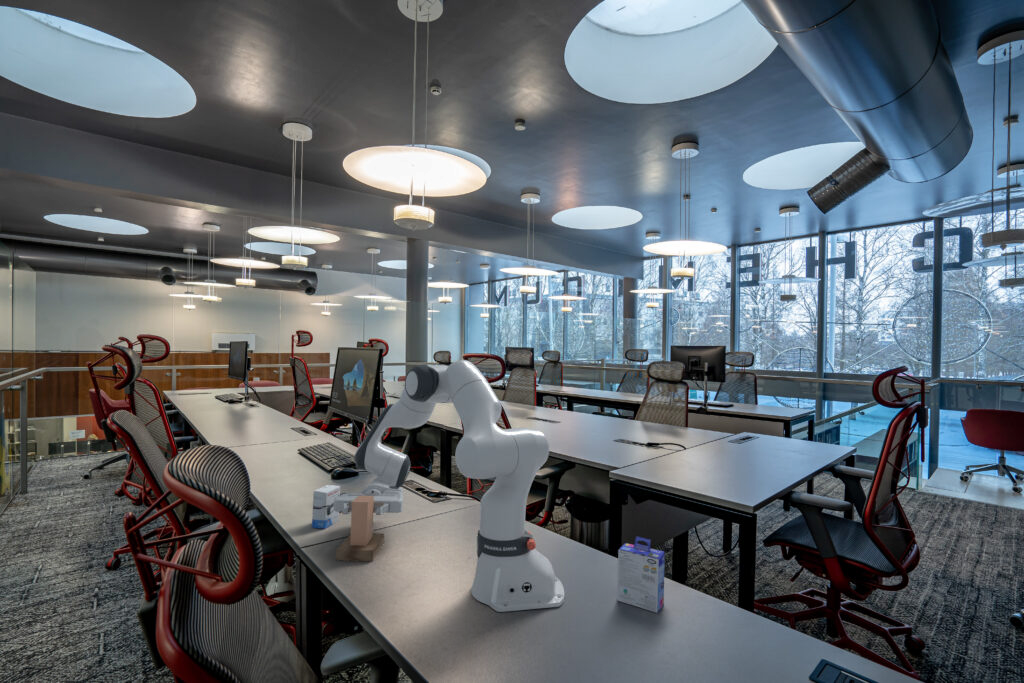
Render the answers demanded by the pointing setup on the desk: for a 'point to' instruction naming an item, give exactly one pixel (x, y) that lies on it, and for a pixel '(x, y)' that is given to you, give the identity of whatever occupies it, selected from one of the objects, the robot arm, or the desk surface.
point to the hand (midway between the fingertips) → (361, 511)
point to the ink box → (325, 506)
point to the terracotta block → (362, 520)
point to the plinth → (360, 549)
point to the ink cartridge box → (641, 575)
